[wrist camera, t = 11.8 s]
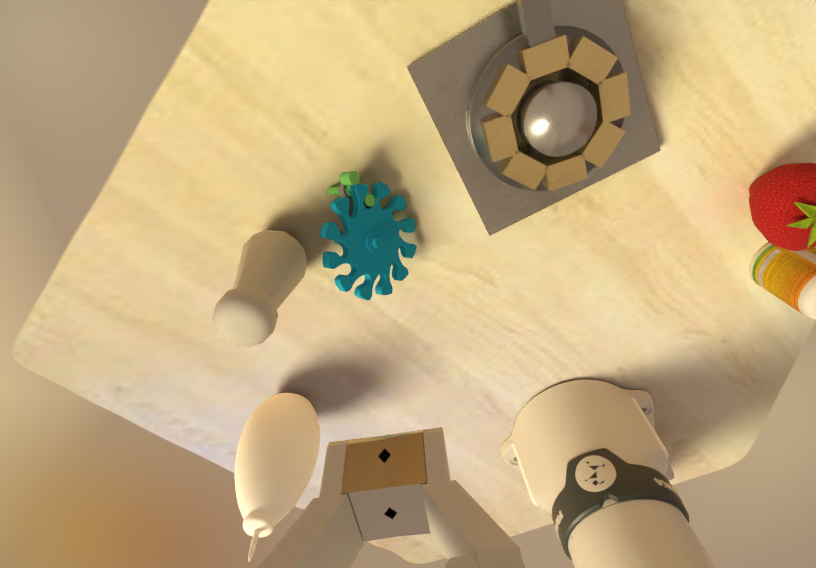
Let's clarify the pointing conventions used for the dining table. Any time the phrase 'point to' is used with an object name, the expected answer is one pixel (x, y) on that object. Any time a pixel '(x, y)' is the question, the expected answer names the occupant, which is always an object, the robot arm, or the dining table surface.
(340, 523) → the robot arm
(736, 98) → the dining table surface
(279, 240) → the salt shaker
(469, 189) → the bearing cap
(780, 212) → the strawberry
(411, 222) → the teal virus model
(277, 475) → the white air blower bulb
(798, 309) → the supplement bottle
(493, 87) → the ring nut
